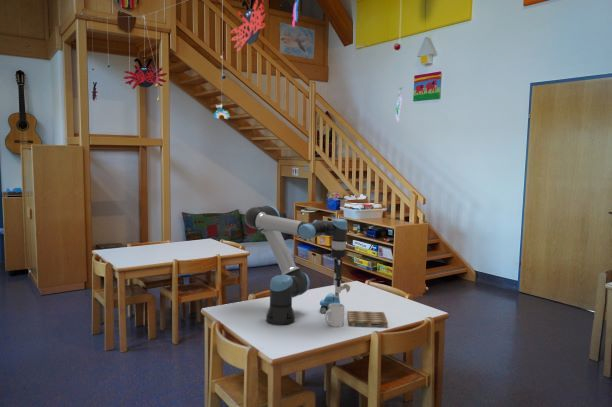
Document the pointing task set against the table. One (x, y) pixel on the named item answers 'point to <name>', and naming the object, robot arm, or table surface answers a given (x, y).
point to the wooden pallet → (367, 318)
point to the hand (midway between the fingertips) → (336, 288)
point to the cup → (335, 315)
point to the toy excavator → (332, 298)
